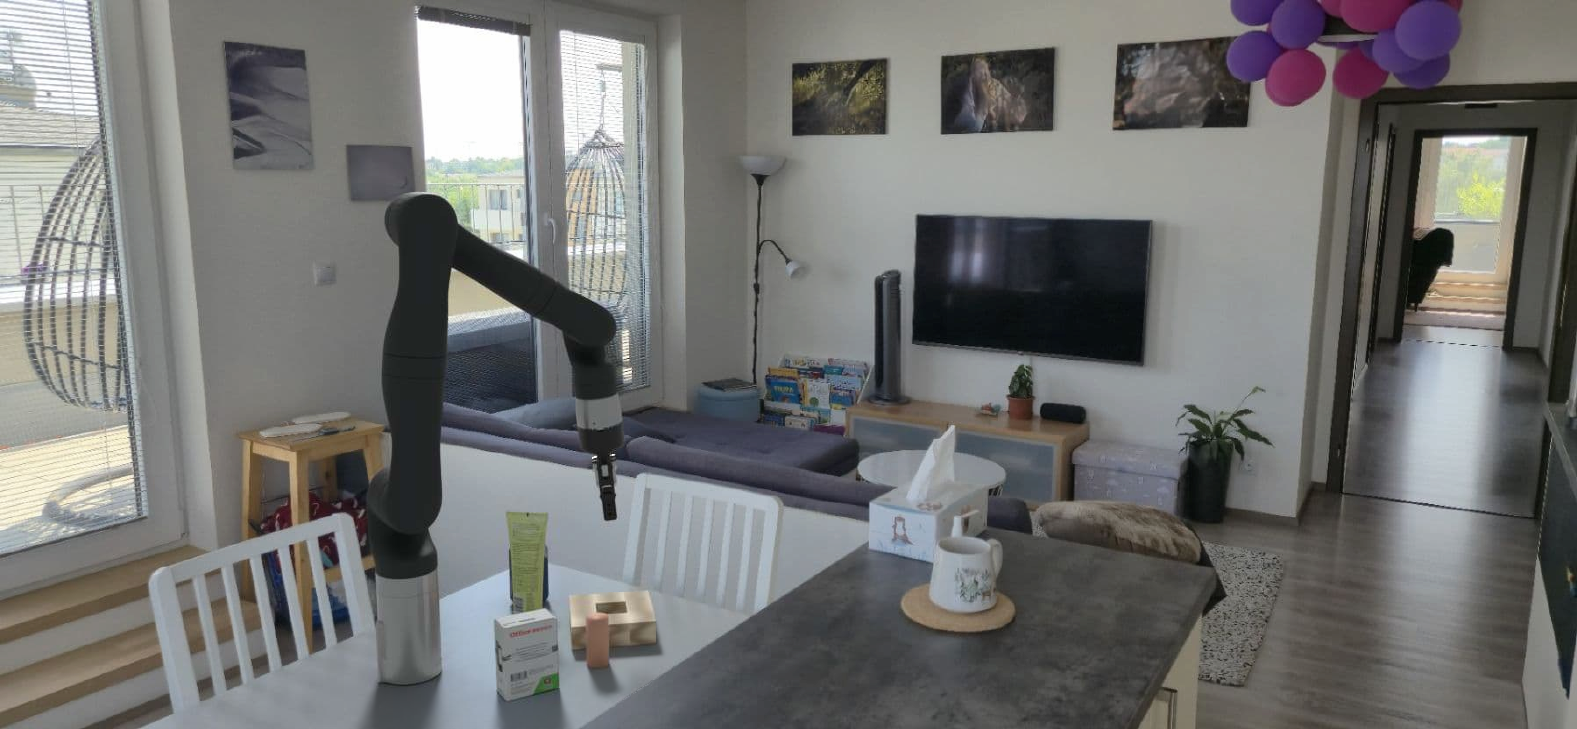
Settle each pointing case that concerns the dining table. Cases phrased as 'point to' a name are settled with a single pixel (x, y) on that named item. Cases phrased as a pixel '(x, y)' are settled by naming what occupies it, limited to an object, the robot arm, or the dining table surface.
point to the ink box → (526, 654)
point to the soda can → (545, 577)
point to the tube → (527, 558)
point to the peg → (597, 640)
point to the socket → (614, 617)
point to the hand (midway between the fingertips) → (609, 511)
